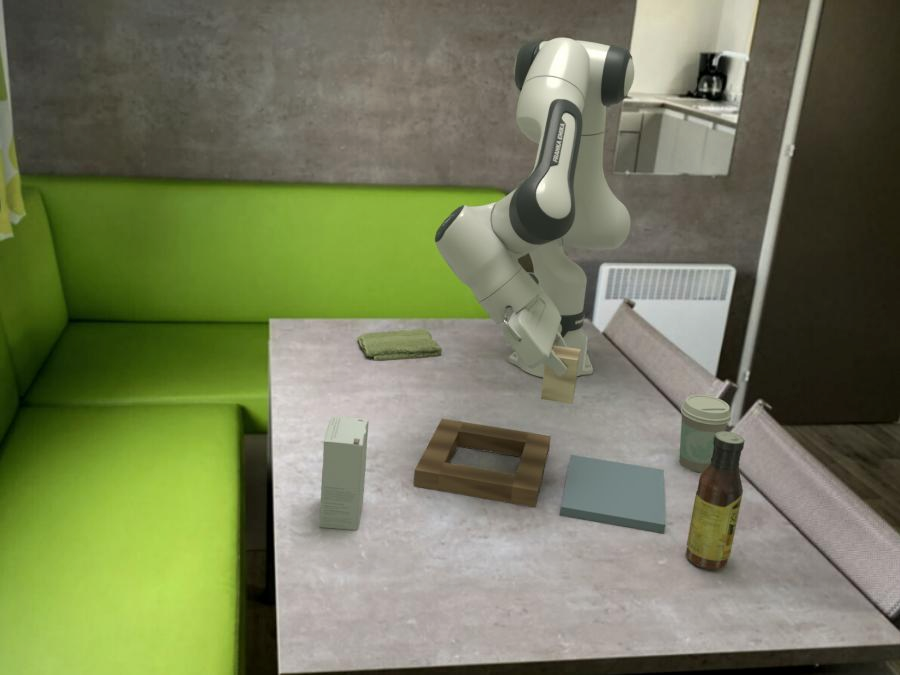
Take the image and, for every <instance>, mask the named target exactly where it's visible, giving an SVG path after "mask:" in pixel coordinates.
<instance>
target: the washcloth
mask: <svg viewBox="0 0 900 675" xmlns="http://www.w3.org/2000/svg"><path fill="white" fill-rule="evenodd" d="M357 340H358V342H359V345H360V347H361V349H362V350H363V352H364V354H365V356H366V357H369V358H372V359H373V361H375V362H380V361H392V360H393V361H394V360H407V359H419V358H420V359H421V358H430V357H431V358H432V357H438V356H440V355H442V353H443V348H442V346H440V345H439V344H438V343H437V341H436V340H434V339H433V337H432V334H431V332H430V331H429V330H427V329H426V328H423V327H421V328H414V329H408V330H407V329H402V330H401V329H400V330H392V331H381V332H380V331H378V332H377V331H376V332H366V333H364V334H360V335H359V336H357Z"/></svg>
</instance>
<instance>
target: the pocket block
mask: <svg viewBox="0 0 900 675" xmlns="http://www.w3.org/2000/svg"><path fill="white" fill-rule="evenodd" d="M551 437H552V436H551V435H549V434H548V435H547V434H541V433H534V432H528V431H525V430H524V431H523V430H515V429H509V428H505V427H504V428H503V427H498V426H491V425H486V424H479V423H472V422H467V421H460V420H454V419H448V418H443V417H441V419H440V422H439V423H438V425H437V427H436V428H435V430H434V433H433V434H432V436H431V438H430V440H429V442H428V444H427V446H426V448H425V450H424V451H423V453H422V455H421V457H420V459H419V461H418V463H417V465H416V466H415V468H414V476H413V477H414V478H413V486H414V487H419V488H423V489H429V490H433V491H441V492H447V493H450V494H451V493H452V494H457V495H463V496H469V497H474V498H480V499H486V500H492V501H498V502H502V503H503V502H504V503H508V504H515V505H521V506H525V507H526V506H527V507H531V508H536V507H537V504H538V503H537V502H538V498H539V496H540V495H539V494H540V490H541V487H542V483H543V482H542V481H543V479H544V475H545V474H544V473H545V470H544V469H546V466H545V465H547V460H548V456H549V453H550V447H551V446H550V445H551ZM457 446H458V447H459V446H461V448H465V447H467V448H466V449H471V448H474V449H473V450H477V449H479V450H478V451H483V450H485V451H484V452H489V451H491V452H490V453H495V452H496V454H501V453H502V454H501V455H507V454H509V455H508V456H513V455H515V456H514V457H519V456H521V457H520V461H519V463H518V467H517V470H516V473H515V474H514V473H509V472H502V471H498V470H490V469H485V468H479V467H473V466H467V465H461V464H455V463H451V462H452V460H453V458H452V457H454V455H455V453H456V451H455V450H457V449H456V448H458V447H457ZM548 452H549V453H548ZM451 459H452V460H451ZM450 461H451V462H450Z"/></svg>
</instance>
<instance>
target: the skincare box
mask: <svg viewBox="0 0 900 675" xmlns="http://www.w3.org/2000/svg"><path fill="white" fill-rule="evenodd" d="M368 432H369V419H368V418H359V417H349V416H348V417H345V416H339V415H331V416H330V419H329V422H328V425H327V428H326V432H325V436H324V438H323V448H322V449H323V451H322V456H323V457H322V471H321V488H320V490H321V491H320V509H319V527H320V528H327V529H335V530H336V529H338V530H349V531H358V530H359V527H360V526H359V525H360V523H361V521H360V520H361V517H362V511H363V503H364V496H365V495H364V493H365V482H366V481H365V478H366V466H367V465H366V464H367V451H368V436H369V434H368Z"/></svg>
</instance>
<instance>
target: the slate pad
mask: <svg viewBox="0 0 900 675" xmlns="http://www.w3.org/2000/svg"><path fill="white" fill-rule="evenodd" d="M664 471H665V470H664V469H661V468H656V467H655V468H654V467H649V466H642V465H637V464H631V463H624V462H619V461H612V460H608V459H607V460H605V459H601V458H600V459H599V458H594V457H589V456H588V457H587V456H583V455H582V456H581V455H575V454H570V458H569V463H568V469H567V473H566V479H565V484H564V490H563V495H562V496H563V497H562V501H561V508H560V513H559V514H560V516H563V517H568V518H569V517H570V518H575V519H581V520H587V521H592V522H593V521H594V522H597V523H604V524H609V525H614V526H621V527H625V528H632V529H637V530H644V531H648V532H654V533H655V532H656V533H661V534H665V530H666V506H665V505H666V502H665V501H666V499H665V472H664Z"/></svg>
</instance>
